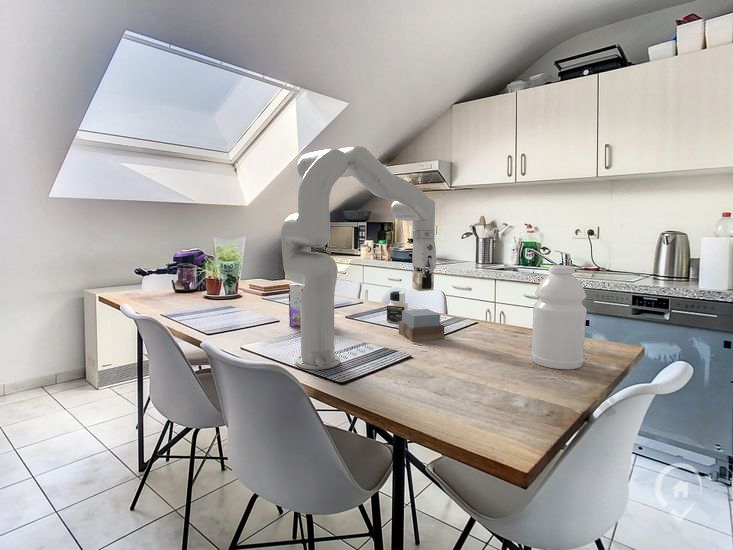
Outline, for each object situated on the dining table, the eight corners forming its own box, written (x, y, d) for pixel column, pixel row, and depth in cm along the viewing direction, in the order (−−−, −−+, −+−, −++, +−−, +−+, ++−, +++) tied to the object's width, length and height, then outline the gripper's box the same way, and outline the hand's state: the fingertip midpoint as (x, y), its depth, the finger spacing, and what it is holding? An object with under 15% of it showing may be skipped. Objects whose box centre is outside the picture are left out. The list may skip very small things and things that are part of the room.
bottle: (551, 372, 120) (557, 269, 117) (520, 357, 133) (525, 264, 130) (594, 367, 124) (601, 268, 120) (560, 353, 137) (565, 263, 134)
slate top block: (440, 325, 153) (440, 314, 153) (413, 327, 150) (413, 316, 149) (427, 319, 163) (427, 308, 162) (401, 321, 159) (402, 310, 159)
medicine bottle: (386, 322, 178) (386, 292, 177) (390, 318, 185) (391, 290, 184) (404, 323, 176) (404, 293, 175) (407, 319, 183) (408, 291, 181)
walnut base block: (444, 340, 153) (444, 326, 153) (412, 343, 150) (412, 328, 149) (428, 331, 165) (428, 318, 164) (398, 334, 161) (398, 320, 160)
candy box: (327, 324, 174) (326, 282, 172) (324, 327, 169) (324, 285, 167) (292, 323, 176) (292, 282, 174) (288, 326, 170) (288, 284, 168)
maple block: (433, 290, 153) (433, 272, 152) (418, 291, 151) (419, 273, 151) (426, 287, 158) (426, 271, 157) (412, 288, 156) (412, 271, 156)
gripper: (445, 236, 145) (444, 290, 148) (422, 234, 162) (421, 283, 164) (424, 236, 143) (423, 291, 145) (403, 234, 159) (403, 284, 162)
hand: (422, 286), depth 155 cm, fingers closed on maple block, 5 cm apart
